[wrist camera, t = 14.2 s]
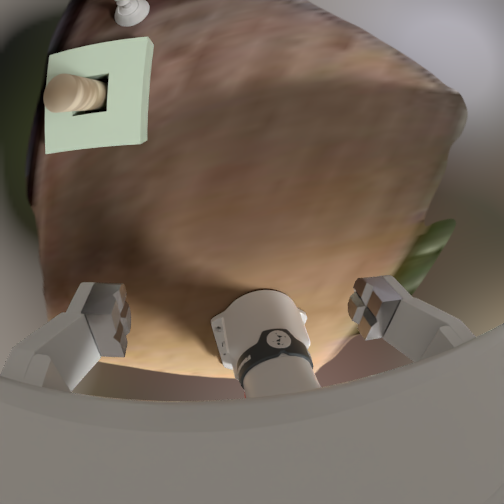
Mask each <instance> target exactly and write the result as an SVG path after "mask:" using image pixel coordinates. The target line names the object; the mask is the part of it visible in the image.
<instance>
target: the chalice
mask: <svg viewBox="0 0 504 504" xmlns="http://www.w3.org/2000/svg"><path fill="white" fill-rule="evenodd" d="M116 1H117V5H118V6H117V8H116V12H115V17H114V18H115V21H116V22H117V23H118V24H119V25H121V26H133V25H135V24H138V23H139V22H141V21H142V20H143V19H144V18H145V17H146V16H147V14H148V12H149V4H148V2H147V1H146V0H116Z"/></svg>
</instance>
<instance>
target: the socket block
mask: <svg viewBox="0 0 504 504" xmlns="http://www.w3.org/2000/svg"><path fill="white" fill-rule="evenodd" d="M153 48H154V44H153V43H152V41H151V40H150V39H149V37H139V38H130V39H122V40H115V41H109V42H103V43H98V44H93V45H88V46H83V47H79V48H75V49H71V50H67V51H63V52H59V53H56V54H53V55H49V63H48V71H47V82H46V86H47V84H48V83H49V82H50V80H51V79H52V78H54V77H55V76H57V75H59V74H71V75H76V76H80V77H85V78H89V79H93V80H101V79H107V78H109V79H108V93H107V111H105V112H97V113H90V114H85V111H70V112H59V113H53V112H50V111H49V110H48V109H47V108H46V107H45V151H46V154H50V153H56V152H63V151H70V150H78V149H86V148H95V147H106V146H118V145H133V144H141V143H143V142H145V141H147V121H148V101H149V87H150V75H151V65H152V56H153Z"/></svg>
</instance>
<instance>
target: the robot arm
mask: <svg viewBox="0 0 504 504" xmlns="http://www.w3.org/2000/svg"><path fill="white" fill-rule="evenodd" d="M353 288H354V291H355V292H354V293H353V294H352V295H351V296H350V299H349V302H348V313H349V316H350V318H351V319H352V321H354V322H356V323H357V324H358V328H357V329H358V330H359V332H360V333H361V335H362V336H363V338H364V339H365V340H371V339H377V338H382V337H383V339H384V340H386V341H387V342H388V343H390V344H391V345H392V346H394V347H395V348H397V349H398V350H399V351H401V352H402V353H403V354H405V355H406V356H407V357H408V358H410V359H411V360H413V361H414V363H411V364H409V365H405V366H402V367H399V368H396V369H393V370H389V371H386V372H383V373H379V374H376V375H372V376H369V377H365V378H361V379H357V380H353V381H349V382H344V383H340V384H336V385H331V386H326V387H320V385H319V383H318V381H317V378H316V376H315V374H314V372H313V363H312V360H311V356H310V353H309V352H308V350H307V349H308V347H309V345H310V339H309V336H308V334H307V331H306V328H305V325H304V324H305V322H306V320H307V315H306V313H305V312H304V311H302V310H300V309H298V308H297V307H296V305H295V304H294V302H293V301H292V299H291V298H290V297H288V296H287V295H285V294H283V293H281V292H278V291H273V290H260V291H254V292H251V293H248V294H245V295H243V296H241V297H240V298H238V299H236V300H235V301H234V302H233V303H232V304H231V305H230V306H229V307H228V308H227V309H226V310H225V311H224V312H222V313H220V314H218V315H216V316H215V317H213V318H212V319H211V326H212V329H213V333H214V336H215V340H216V343H217V346H218V350H219V353H220V356H221V360H222V363H223V366H224V367H225V368H228V369H232V370H233V371H234V375H235V378H236V379H238V380H239V382H240V383H241V386H242V388H243V389H244V391H245V392H244V393H245V398H244V399H231V400H216V401H145V400H129V399H117V398H107V397H98V396H90V395H83V394H76V393H72V392H71V391H72V390H73V389H74V388H75V387H76V385H77V384H78V383H79V382H80V381H81V379H83V377H84V376H85V375H86V374H87V373H88V372H89V370H90V369H91V368H92V367H93V366H94V365H95V364H96V363H97V361H98V360H99V359H100V358H101V356H106V357H125V353H126V348H127V343H128V342H127V338H126V335H127V334H128V333H129V332H130V327H131V312H130V307H129V304H128V303H127V302H126V301H125V299H126V296H127V293H126V288H125V285H124V284H123V283H98V282H96V283H95V282H83V283H81V284H80V285H79V287H78V289H77V291H76V293H75V295H74V297H73V299H72V301H71V303H70V305H69V307H68V309H67V311H66V313H64V312H62V313H60V314H59V315H57V316H56V317H54V318H53V319H52V320H50V321H49V322H47V323H46V324H44V325H43V326H42V327H41V328H39V329H37V330H36V331H35V332H33V333H32V334H30V335H29V336H28V337H26V338H25V339H24V340H22V341H21V342H20V343H18V344H17V345H15V346H14V347H13V348H12V350H11V352H10V354H9V356H8V358H7V361H6V363H5V365H4V367H3V370H2V372H1V374H0V504H504V323H503V324H501V325H499V326H498V327H496V328H494V329H492V330H490V331H488V332H486V333H484V334H482V335H480V336H478V337H475V336H474V334H472V332H471V331H470V330H469V329H468V328H467V327H466V326H465V324H464V323H463V322H462V321H461V320H460V319H458V318H456V317H454V316H451V315H450V314H448V313H446V312H444V311H442V310H440V309H438V308H436V307H434V306H432V305H430V304H428V303H426V302H424V301H421V300H419V299H417V298H413V297H412V296H411V295H410V294H409V293H408V292H407V291H406V290H405V289H404V288H403V287H402V286H401V285H400V283H399V282H398V281H397V280H396V279H395V278H394V277H393V276H390V275H385V276H378V277H366V278H358V279H357V280H356V281H355V284H354V287H353Z"/></svg>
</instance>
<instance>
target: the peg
mask: <svg viewBox="0 0 504 504" xmlns="http://www.w3.org/2000/svg"><path fill="white" fill-rule="evenodd" d="M107 93H108V83H106V82H102V81H98V80H93V79H89V78H85V77H80V76H76V75H71V74H59V75H57V76H55V77H54V78H52V79H51V80H50V82H49V83H48V84H47V86H46V88H45V91H44V97H43V99H44V104H45V107H46V108H47V109H48V110H49V111H50V112H53V113H59V112H70V111H85V110H103V109H106V108H107Z"/></svg>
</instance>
